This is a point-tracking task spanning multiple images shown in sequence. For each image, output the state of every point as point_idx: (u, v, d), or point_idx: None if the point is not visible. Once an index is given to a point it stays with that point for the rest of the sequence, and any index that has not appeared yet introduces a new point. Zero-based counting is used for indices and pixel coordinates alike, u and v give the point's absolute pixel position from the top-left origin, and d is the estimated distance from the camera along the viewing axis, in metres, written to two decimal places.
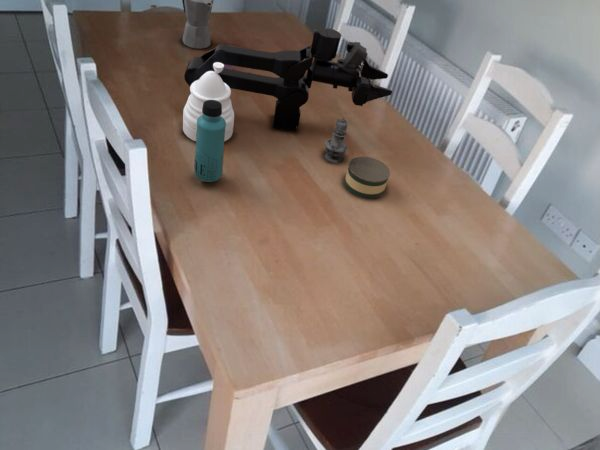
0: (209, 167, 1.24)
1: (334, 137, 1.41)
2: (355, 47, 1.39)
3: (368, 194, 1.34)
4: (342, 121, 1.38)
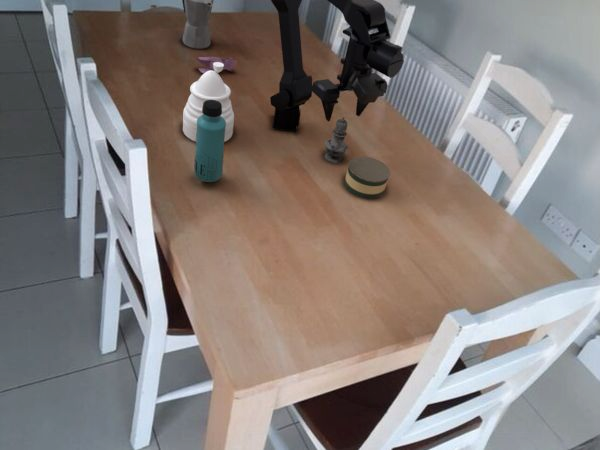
0: (209, 167, 1.24)
1: (334, 137, 1.41)
2: (373, 92, 1.26)
3: (368, 194, 1.34)
4: (342, 121, 1.38)
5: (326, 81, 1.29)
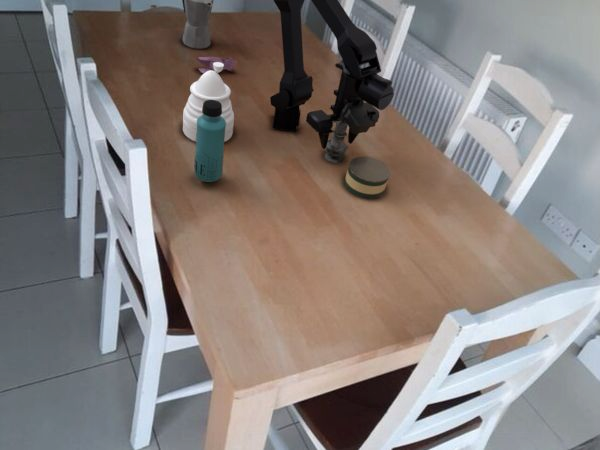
0: (209, 167, 1.24)
1: (334, 137, 1.41)
2: (364, 123, 1.31)
3: (368, 194, 1.34)
4: (342, 121, 1.38)
5: (320, 112, 1.34)
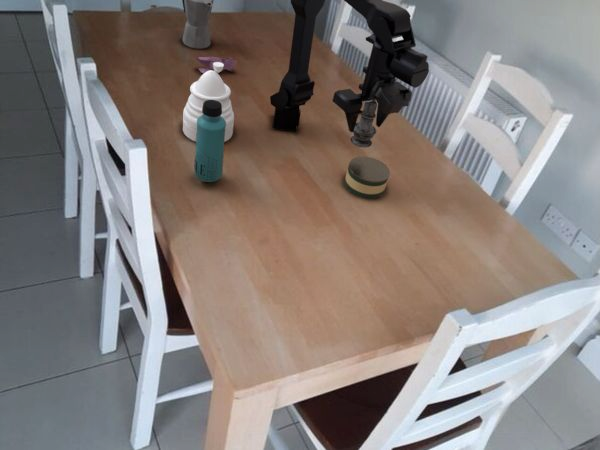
0: (209, 167, 1.24)
1: (364, 119, 1.30)
2: (397, 102, 1.20)
3: (368, 194, 1.34)
4: (372, 101, 1.27)
5: (348, 91, 1.24)
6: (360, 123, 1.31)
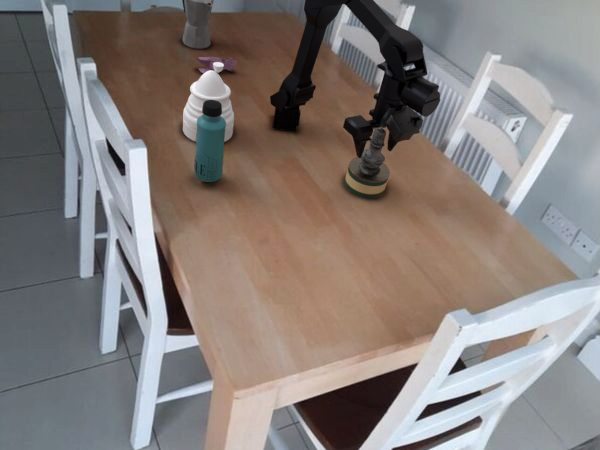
0: (209, 167, 1.24)
1: (370, 145, 1.30)
2: (408, 129, 1.20)
3: (368, 194, 1.34)
4: (379, 130, 1.27)
5: (358, 117, 1.23)
6: None
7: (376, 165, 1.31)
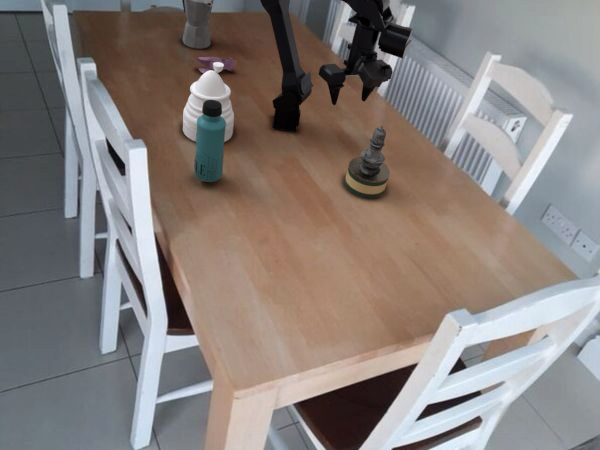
0: (209, 167, 1.24)
1: (370, 145, 1.30)
2: (377, 76, 1.30)
3: (368, 194, 1.34)
4: (379, 130, 1.27)
5: (333, 65, 1.33)
6: None
7: (376, 165, 1.31)
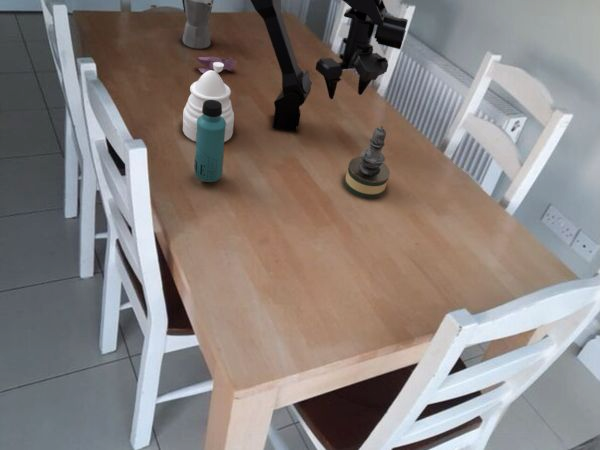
0: (209, 167, 1.24)
1: (370, 145, 1.30)
2: (374, 69, 1.32)
3: (368, 194, 1.34)
4: (379, 130, 1.27)
5: (329, 59, 1.35)
6: None
7: (376, 165, 1.31)
